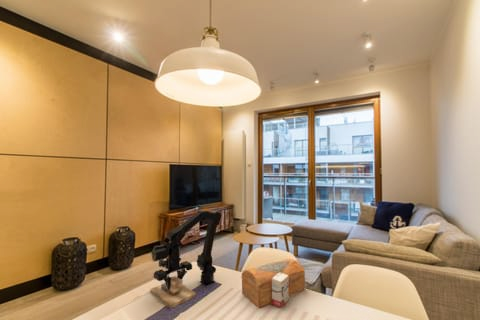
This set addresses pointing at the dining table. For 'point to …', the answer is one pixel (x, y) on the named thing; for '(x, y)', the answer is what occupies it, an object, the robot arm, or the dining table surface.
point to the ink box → (280, 289)
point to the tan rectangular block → (175, 285)
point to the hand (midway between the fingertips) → (173, 287)
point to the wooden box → (260, 280)
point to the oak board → (173, 296)
